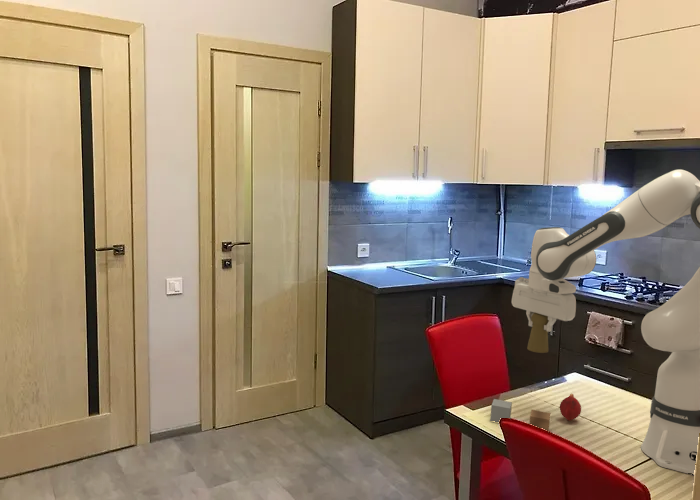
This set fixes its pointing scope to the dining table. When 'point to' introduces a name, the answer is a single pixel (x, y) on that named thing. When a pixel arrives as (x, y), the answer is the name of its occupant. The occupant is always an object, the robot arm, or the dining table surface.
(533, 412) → the walnut block
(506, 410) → the slate block
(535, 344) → the cork
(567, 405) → the onion
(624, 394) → the dining table surface
